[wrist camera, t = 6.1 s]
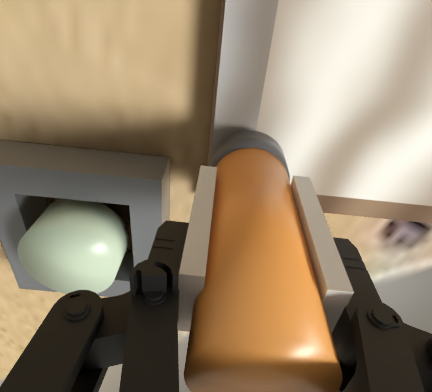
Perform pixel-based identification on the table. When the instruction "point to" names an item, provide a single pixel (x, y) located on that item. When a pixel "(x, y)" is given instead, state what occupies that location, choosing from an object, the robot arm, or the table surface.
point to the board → (334, 97)
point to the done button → (74, 246)
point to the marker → (258, 284)
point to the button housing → (81, 196)
